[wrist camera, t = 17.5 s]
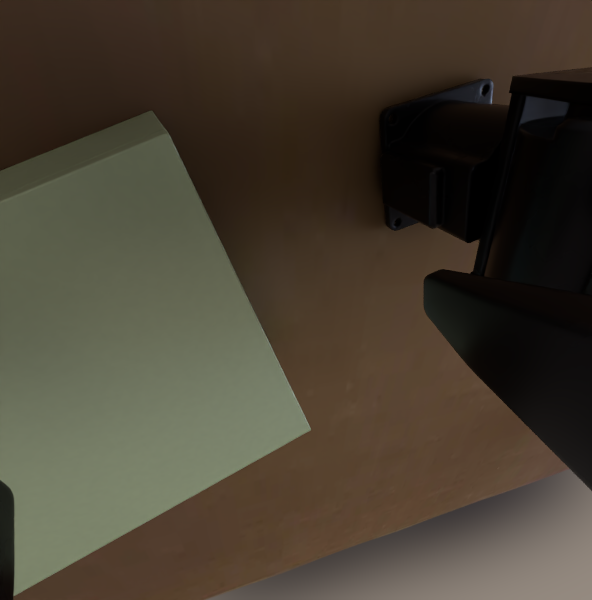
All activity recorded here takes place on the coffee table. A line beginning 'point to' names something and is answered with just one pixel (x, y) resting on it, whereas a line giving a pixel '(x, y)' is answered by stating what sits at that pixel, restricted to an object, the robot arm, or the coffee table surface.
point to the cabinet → (121, 347)
